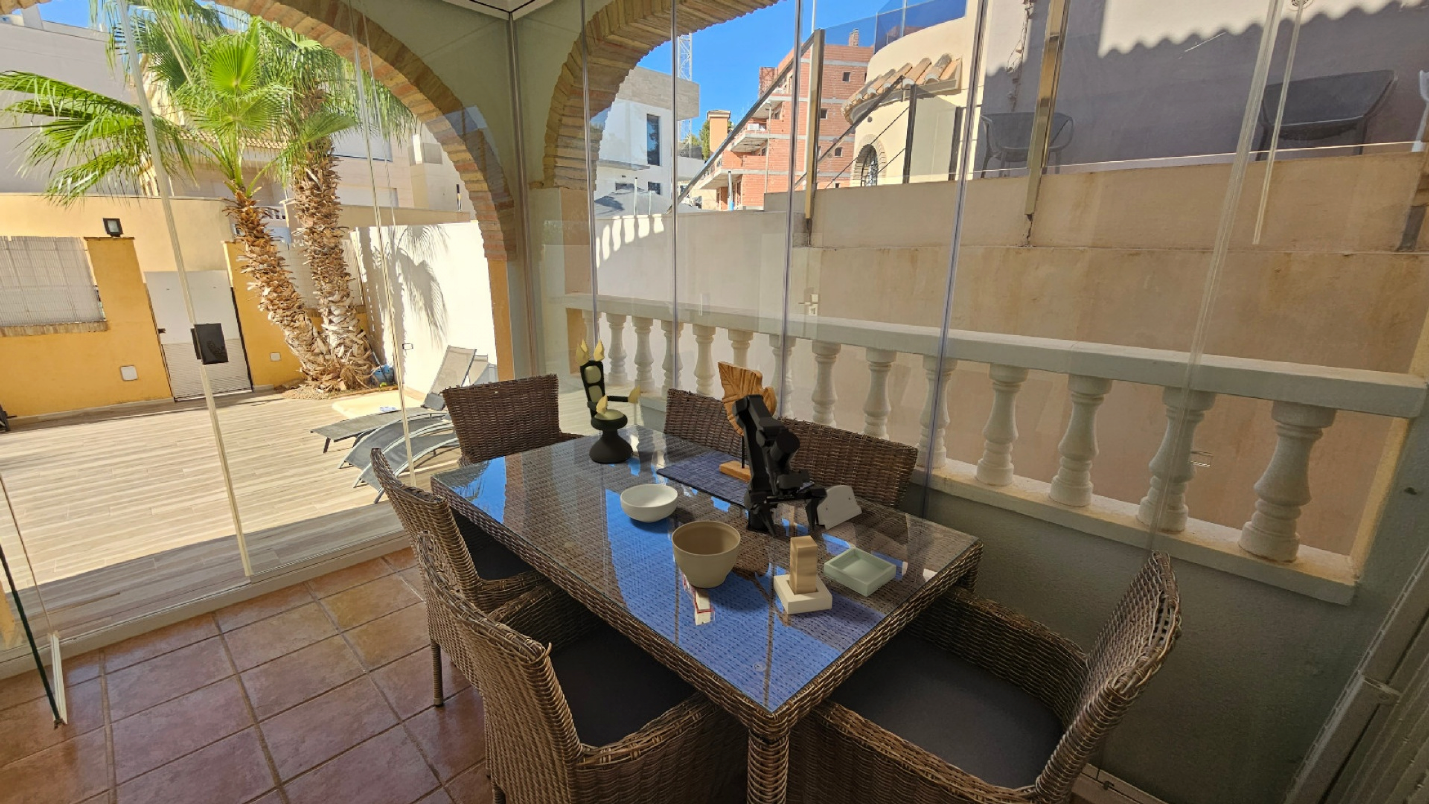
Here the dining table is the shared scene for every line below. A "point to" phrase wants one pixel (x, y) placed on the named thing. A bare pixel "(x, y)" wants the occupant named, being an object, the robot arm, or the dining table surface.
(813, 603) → the block
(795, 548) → the wooden block
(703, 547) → the planter bowl
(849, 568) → the tray
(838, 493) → the white napkin holder
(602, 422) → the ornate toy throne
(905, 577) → the dining table surface
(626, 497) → the cereal bowl
